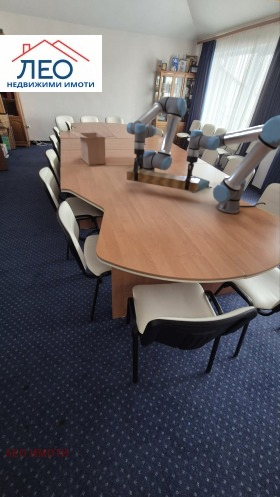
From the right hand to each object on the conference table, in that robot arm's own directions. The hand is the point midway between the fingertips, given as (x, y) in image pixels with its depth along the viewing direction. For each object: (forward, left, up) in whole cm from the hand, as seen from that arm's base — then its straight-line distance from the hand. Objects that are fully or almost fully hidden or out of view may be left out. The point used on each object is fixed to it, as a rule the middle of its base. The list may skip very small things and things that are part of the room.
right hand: (187, 187), depth 163 cm
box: (+75, -96, -10) cm, 123 cm away
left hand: (+35, -16, 0) cm, 39 cm away
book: (-15, -28, -10) cm, 33 cm away
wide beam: (+18, -8, -1) cm, 19 cm away
